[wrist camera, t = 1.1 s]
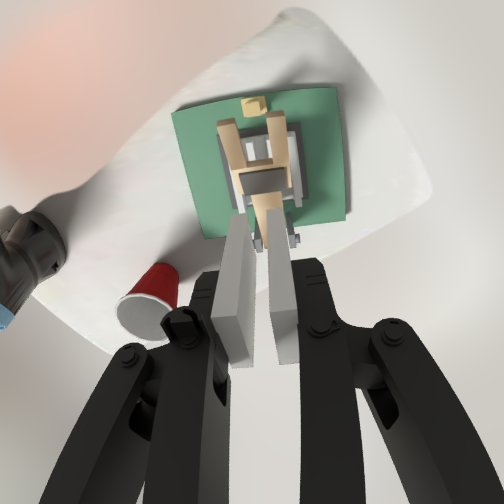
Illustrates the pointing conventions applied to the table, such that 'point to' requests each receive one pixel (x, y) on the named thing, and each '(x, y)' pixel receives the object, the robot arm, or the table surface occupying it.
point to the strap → (259, 166)
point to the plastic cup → (149, 303)
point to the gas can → (5, 235)
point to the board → (315, 152)
